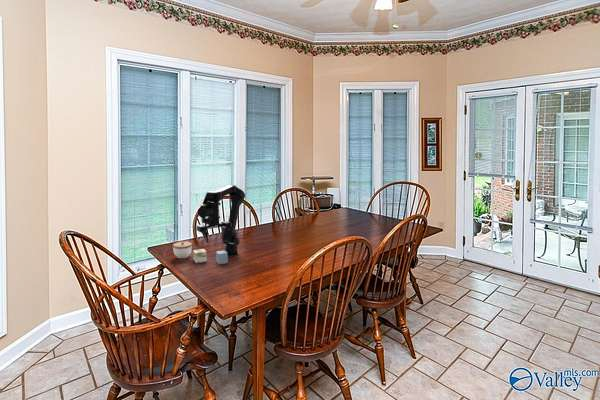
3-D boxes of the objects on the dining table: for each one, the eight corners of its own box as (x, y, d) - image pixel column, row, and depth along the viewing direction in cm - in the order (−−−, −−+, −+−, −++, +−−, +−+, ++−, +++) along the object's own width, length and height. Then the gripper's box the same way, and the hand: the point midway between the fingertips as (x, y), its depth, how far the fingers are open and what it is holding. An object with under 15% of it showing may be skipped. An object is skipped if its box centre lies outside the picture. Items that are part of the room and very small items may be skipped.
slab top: (203, 253, 211) (203, 248, 210) (206, 256, 206) (206, 251, 205) (193, 255, 208) (193, 250, 207) (195, 258, 203) (195, 253, 202)
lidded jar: (172, 260, 207) (172, 244, 205) (174, 254, 217) (173, 239, 215) (192, 259, 209) (191, 243, 208) (192, 253, 220) (192, 238, 218)
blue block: (224, 260, 208) (224, 250, 207) (227, 262, 204) (227, 252, 203) (216, 261, 206) (216, 251, 205) (219, 264, 201) (218, 254, 200)
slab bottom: (203, 258, 211) (203, 253, 211) (206, 261, 206) (206, 256, 206) (193, 260, 208) (193, 255, 208) (196, 263, 203) (195, 258, 203)
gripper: (222, 209, 212) (223, 235, 215) (191, 213, 201) (193, 240, 204) (231, 212, 203) (232, 239, 206) (199, 217, 192) (201, 245, 195)
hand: (214, 241), depth 203 cm, fingers open, 9 cm apart
